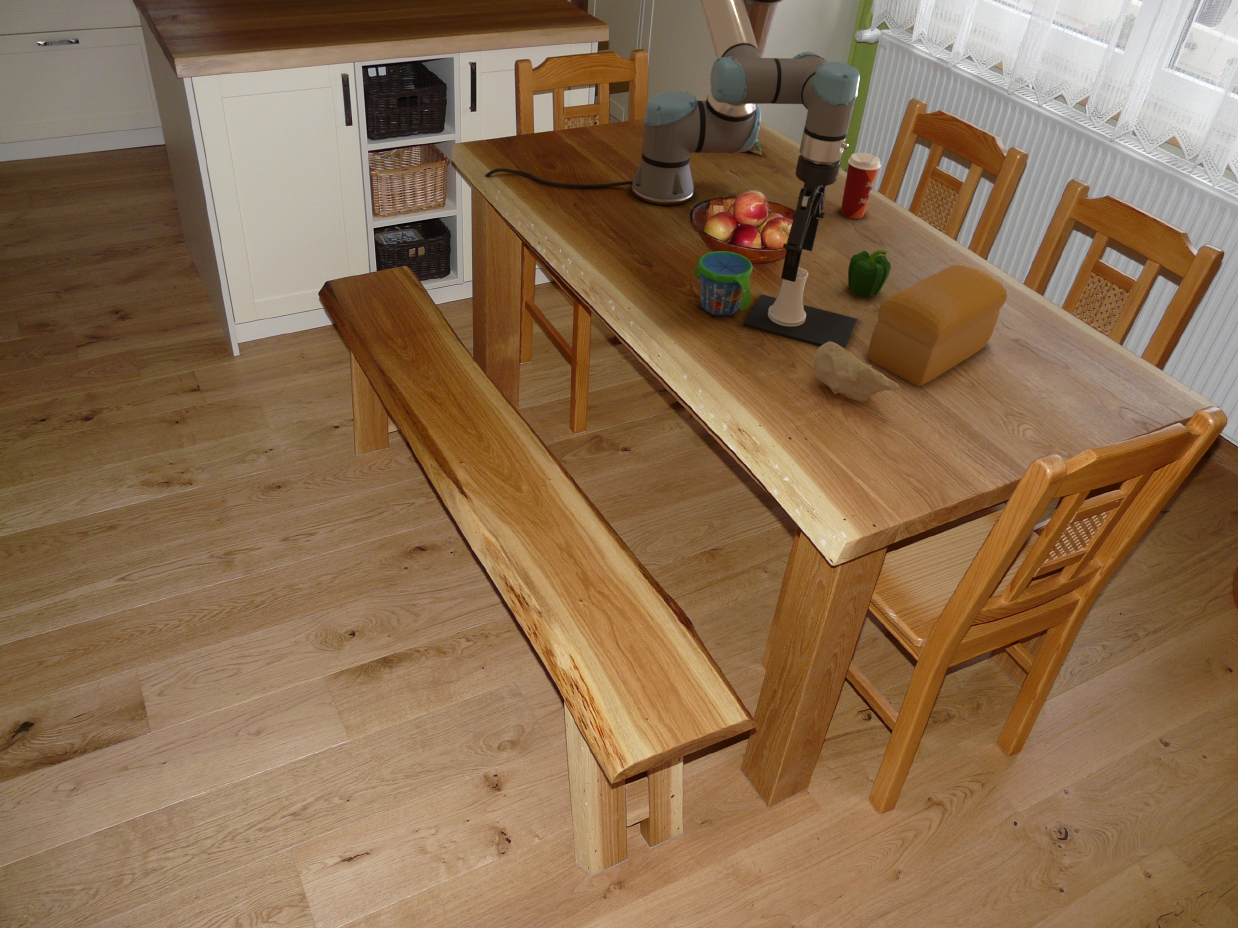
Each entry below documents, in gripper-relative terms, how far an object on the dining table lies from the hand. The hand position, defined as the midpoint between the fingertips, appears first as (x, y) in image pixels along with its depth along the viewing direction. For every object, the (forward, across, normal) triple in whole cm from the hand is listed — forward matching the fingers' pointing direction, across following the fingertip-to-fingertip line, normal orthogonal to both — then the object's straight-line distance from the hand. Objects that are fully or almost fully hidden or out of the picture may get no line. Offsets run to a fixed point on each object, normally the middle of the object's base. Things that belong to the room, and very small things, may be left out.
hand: (797, 264), depth 179 cm
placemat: (+12, 0, -3) cm, 13 cm away
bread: (+12, +2, -28) cm, 31 cm away
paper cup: (+13, +57, -2) cm, 58 cm away
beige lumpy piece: (+12, -19, -18) cm, 29 cm away
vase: (+12, 0, 0) cm, 12 cm away
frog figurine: (+14, +84, +36) cm, 92 cm away
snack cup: (+13, -3, +13) cm, 18 cm away
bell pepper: (+13, +19, -12) cm, 26 cm away
